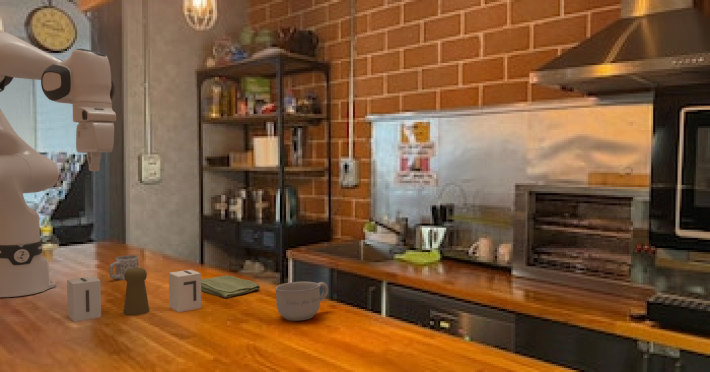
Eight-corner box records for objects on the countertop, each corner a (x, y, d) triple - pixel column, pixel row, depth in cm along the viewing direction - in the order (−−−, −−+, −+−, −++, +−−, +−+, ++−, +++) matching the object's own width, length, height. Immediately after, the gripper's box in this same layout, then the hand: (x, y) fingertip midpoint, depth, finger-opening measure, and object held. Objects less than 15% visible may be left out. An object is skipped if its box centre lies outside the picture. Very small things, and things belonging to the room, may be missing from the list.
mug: (128, 274, 179) (127, 254, 178) (143, 276, 176) (142, 256, 175) (102, 281, 170) (101, 260, 169) (117, 283, 167) (117, 261, 166)
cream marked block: (169, 307, 141) (168, 272, 140) (191, 303, 145) (191, 269, 144) (179, 312, 136) (178, 276, 135) (201, 308, 140) (201, 272, 139)
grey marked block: (68, 316, 133) (67, 279, 132) (94, 311, 137) (93, 275, 136) (74, 322, 128) (73, 283, 127) (101, 317, 132) (100, 279, 131)
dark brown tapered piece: (140, 316, 133) (139, 271, 132) (118, 314, 134) (117, 270, 133) (154, 309, 139) (153, 266, 138) (132, 307, 140) (132, 265, 139)
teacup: (284, 326, 125) (284, 292, 124) (269, 314, 134) (269, 282, 134) (339, 318, 131) (339, 285, 131) (321, 307, 141) (321, 276, 140)
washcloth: (225, 301, 148) (225, 289, 148) (189, 290, 160) (189, 279, 160) (263, 292, 158) (263, 281, 158) (227, 282, 170) (227, 272, 170)
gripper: (68, 117, 141) (70, 170, 142) (89, 112, 125) (91, 172, 126) (94, 118, 145) (96, 170, 146) (118, 113, 129) (120, 171, 130)
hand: (94, 171), depth 136 cm, fingers closed
